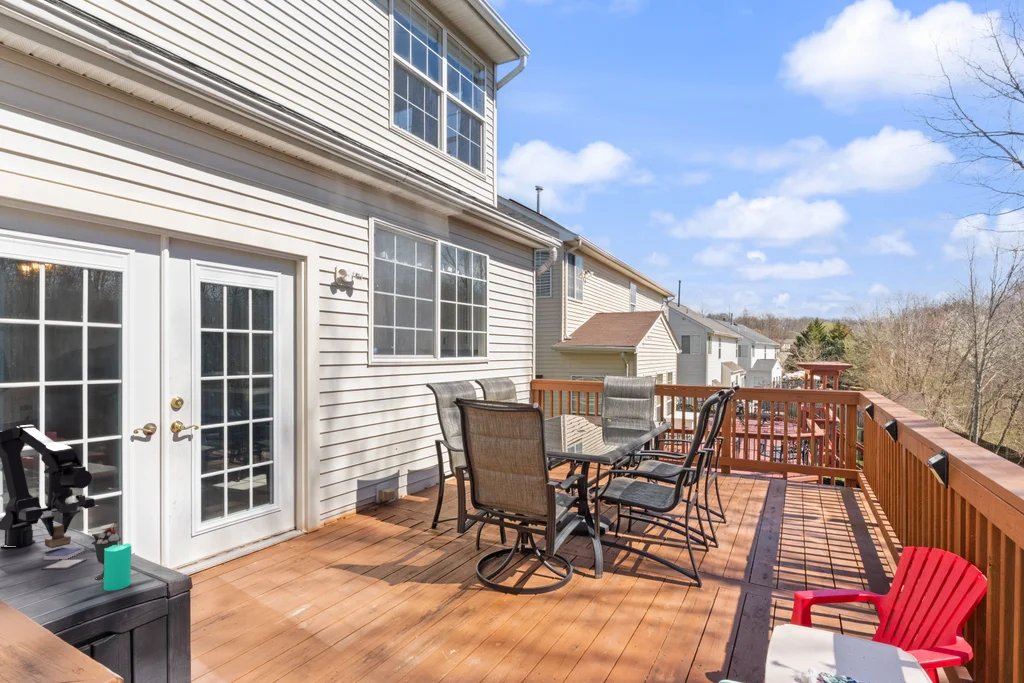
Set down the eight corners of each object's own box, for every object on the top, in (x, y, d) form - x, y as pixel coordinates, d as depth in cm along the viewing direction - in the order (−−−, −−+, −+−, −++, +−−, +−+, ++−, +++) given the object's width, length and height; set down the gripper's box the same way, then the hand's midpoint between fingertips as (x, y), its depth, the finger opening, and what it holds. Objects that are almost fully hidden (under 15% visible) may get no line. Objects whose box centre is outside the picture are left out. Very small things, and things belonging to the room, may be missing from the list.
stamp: (44, 546, 174) (45, 526, 174) (63, 541, 178) (64, 522, 178) (51, 548, 171) (52, 528, 171) (70, 543, 176) (71, 524, 176)
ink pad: (43, 559, 165) (43, 555, 165) (62, 551, 172) (62, 548, 172) (66, 559, 165) (66, 555, 165) (84, 551, 172) (84, 547, 172)
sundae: (126, 573, 154) (127, 520, 154) (101, 582, 147) (103, 527, 148) (110, 570, 156) (111, 518, 156) (85, 579, 149) (86, 525, 150)
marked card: (41, 569, 157) (41, 568, 157) (62, 560, 165) (62, 559, 165) (67, 569, 157) (67, 568, 157) (86, 559, 165) (86, 558, 165)
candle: (136, 582, 147) (137, 537, 148) (118, 591, 141) (119, 545, 142) (116, 581, 148) (117, 537, 148) (97, 590, 142) (98, 544, 143)
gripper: (34, 495, 163) (33, 547, 163) (104, 483, 180) (103, 530, 179) (18, 491, 169) (17, 541, 168) (88, 480, 185) (86, 526, 184)
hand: (57, 534), depth 175 cm, fingers closed on stamp, 3 cm apart
